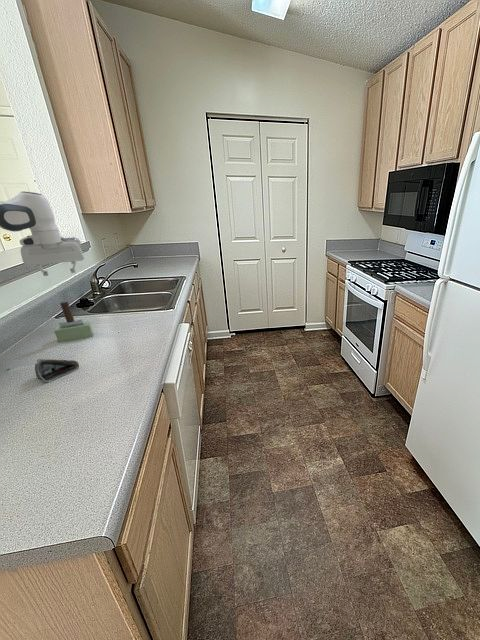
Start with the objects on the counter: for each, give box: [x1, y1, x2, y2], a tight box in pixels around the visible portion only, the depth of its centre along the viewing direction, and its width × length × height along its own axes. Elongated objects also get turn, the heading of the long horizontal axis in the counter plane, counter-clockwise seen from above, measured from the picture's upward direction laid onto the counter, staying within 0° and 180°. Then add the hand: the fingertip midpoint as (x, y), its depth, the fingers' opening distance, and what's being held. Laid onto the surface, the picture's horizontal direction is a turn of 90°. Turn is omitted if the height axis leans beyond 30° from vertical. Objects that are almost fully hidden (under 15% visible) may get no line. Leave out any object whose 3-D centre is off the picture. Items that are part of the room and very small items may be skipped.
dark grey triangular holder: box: [34, 358, 80, 383], centre depth 109 cm, size 10×7×12 cm
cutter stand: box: [53, 321, 94, 343], centre depth 135 cm, size 12×5×6 cm, turn 118°
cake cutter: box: [58, 300, 84, 328], centre depth 132 cm, size 8×3×15 cm, turn 118°
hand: (60, 274), depth 135 cm, fingers open, 8 cm apart
